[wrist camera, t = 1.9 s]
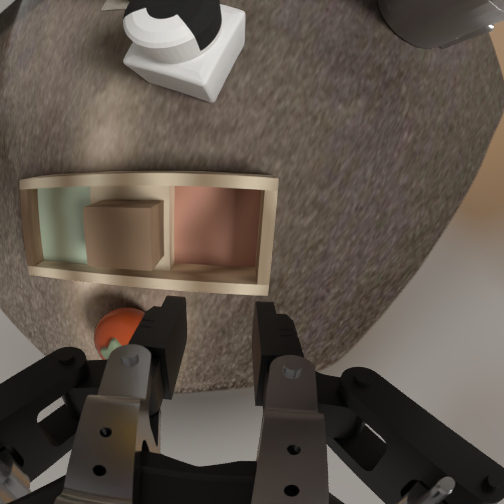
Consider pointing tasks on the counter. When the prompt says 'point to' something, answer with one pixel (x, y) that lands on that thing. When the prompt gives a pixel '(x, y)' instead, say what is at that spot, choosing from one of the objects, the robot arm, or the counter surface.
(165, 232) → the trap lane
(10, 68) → the counter surface
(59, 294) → the counter surface
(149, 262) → the walnut block
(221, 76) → the medicine bottle
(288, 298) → the counter surface
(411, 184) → the counter surface
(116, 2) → the condiment
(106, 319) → the tomato
